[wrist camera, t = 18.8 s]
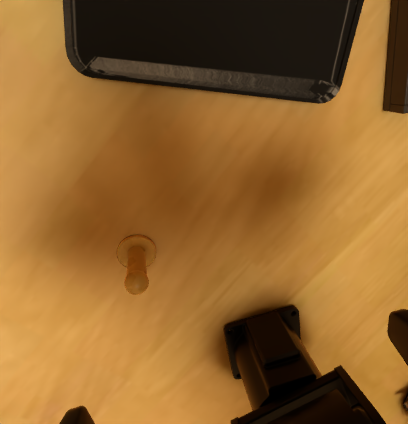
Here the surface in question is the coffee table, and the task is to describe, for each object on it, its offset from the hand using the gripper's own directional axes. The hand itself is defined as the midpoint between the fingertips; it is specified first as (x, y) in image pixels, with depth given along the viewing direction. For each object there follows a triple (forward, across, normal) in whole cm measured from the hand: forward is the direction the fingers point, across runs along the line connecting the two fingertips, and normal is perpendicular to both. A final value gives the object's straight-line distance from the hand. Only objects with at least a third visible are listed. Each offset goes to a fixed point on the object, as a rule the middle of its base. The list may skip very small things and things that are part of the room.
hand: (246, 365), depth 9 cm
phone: (+13, -4, -10) cm, 17 cm away
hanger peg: (+13, +4, +3) cm, 14 cm away
